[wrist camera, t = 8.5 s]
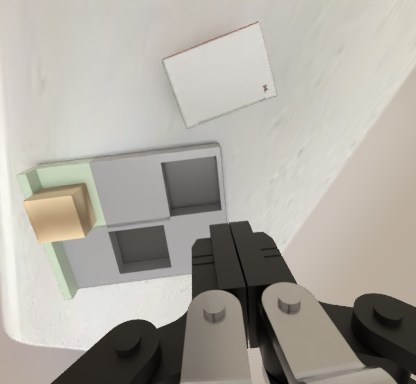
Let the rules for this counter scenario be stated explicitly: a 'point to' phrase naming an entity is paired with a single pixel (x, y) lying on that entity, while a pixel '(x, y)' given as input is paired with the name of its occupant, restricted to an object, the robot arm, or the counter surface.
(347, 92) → the counter surface
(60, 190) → the block
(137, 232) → the grey slotted tray
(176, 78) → the small box
